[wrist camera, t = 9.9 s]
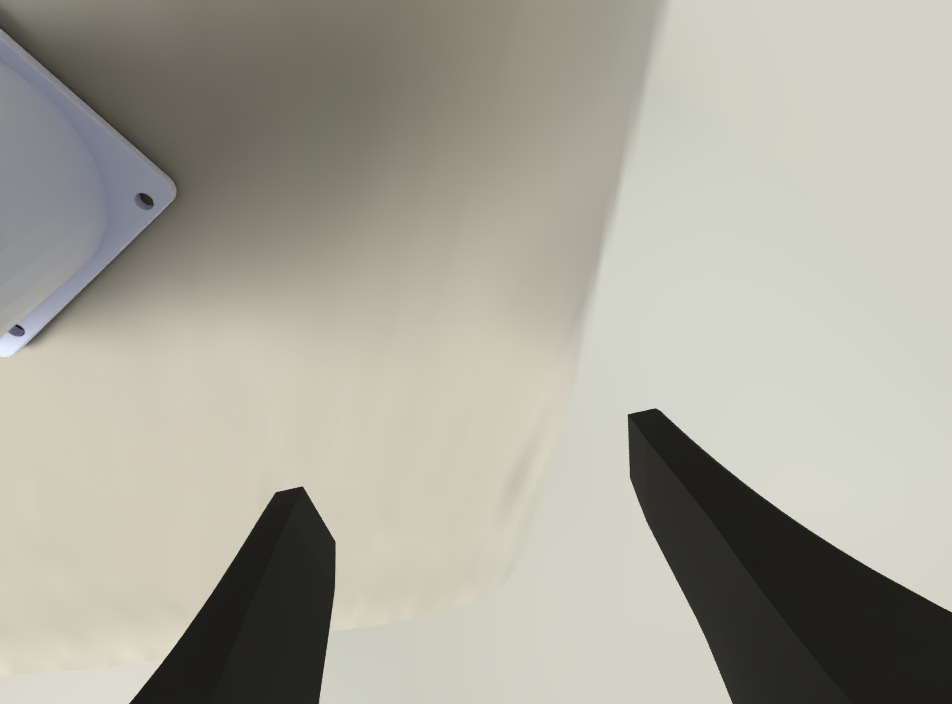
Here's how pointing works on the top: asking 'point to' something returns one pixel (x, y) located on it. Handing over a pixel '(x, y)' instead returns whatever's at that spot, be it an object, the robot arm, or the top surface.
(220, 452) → the top surface
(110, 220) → the robot arm
